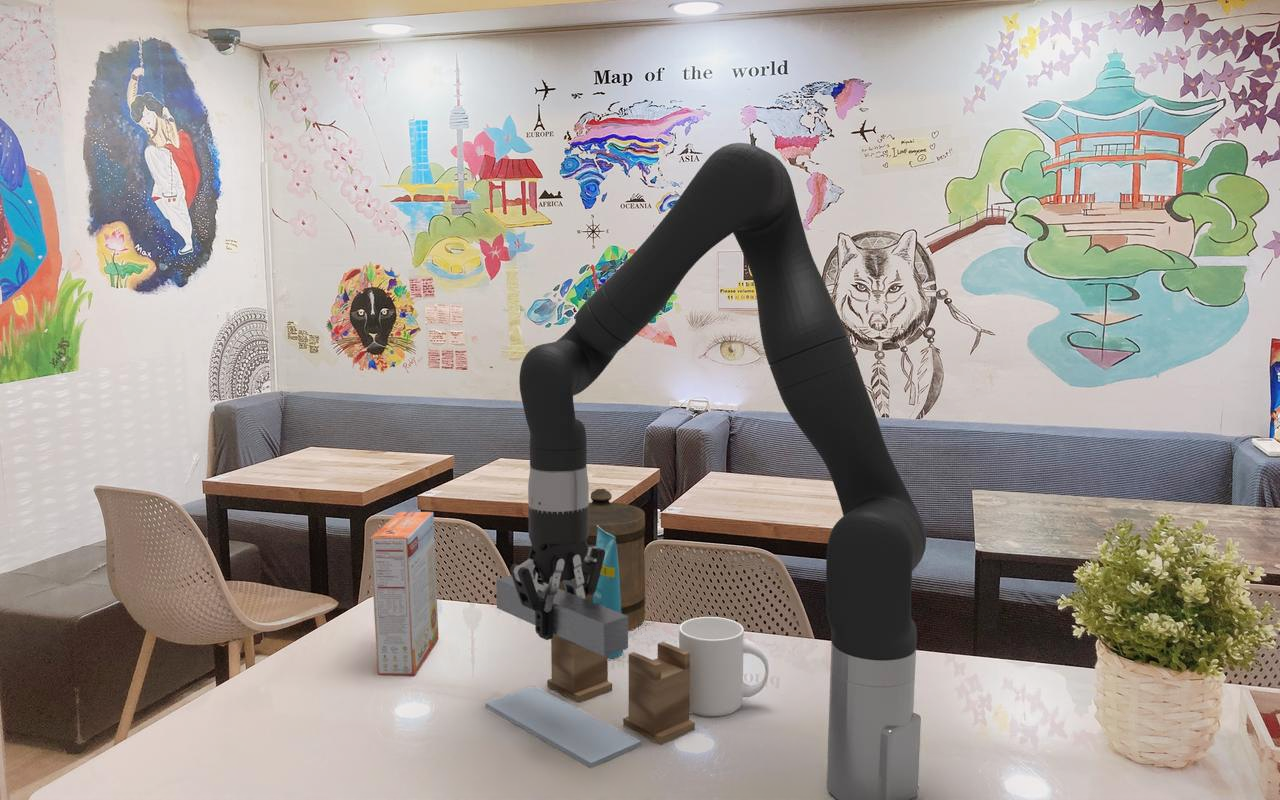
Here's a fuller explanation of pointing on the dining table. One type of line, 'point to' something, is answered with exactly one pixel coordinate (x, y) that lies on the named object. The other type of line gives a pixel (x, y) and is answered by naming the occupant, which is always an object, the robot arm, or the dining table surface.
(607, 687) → the post
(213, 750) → the dining table surface
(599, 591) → the tube
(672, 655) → the post
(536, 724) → the mat
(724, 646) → the mug
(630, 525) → the wooden container
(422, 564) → the cracker box
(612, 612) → the rail
